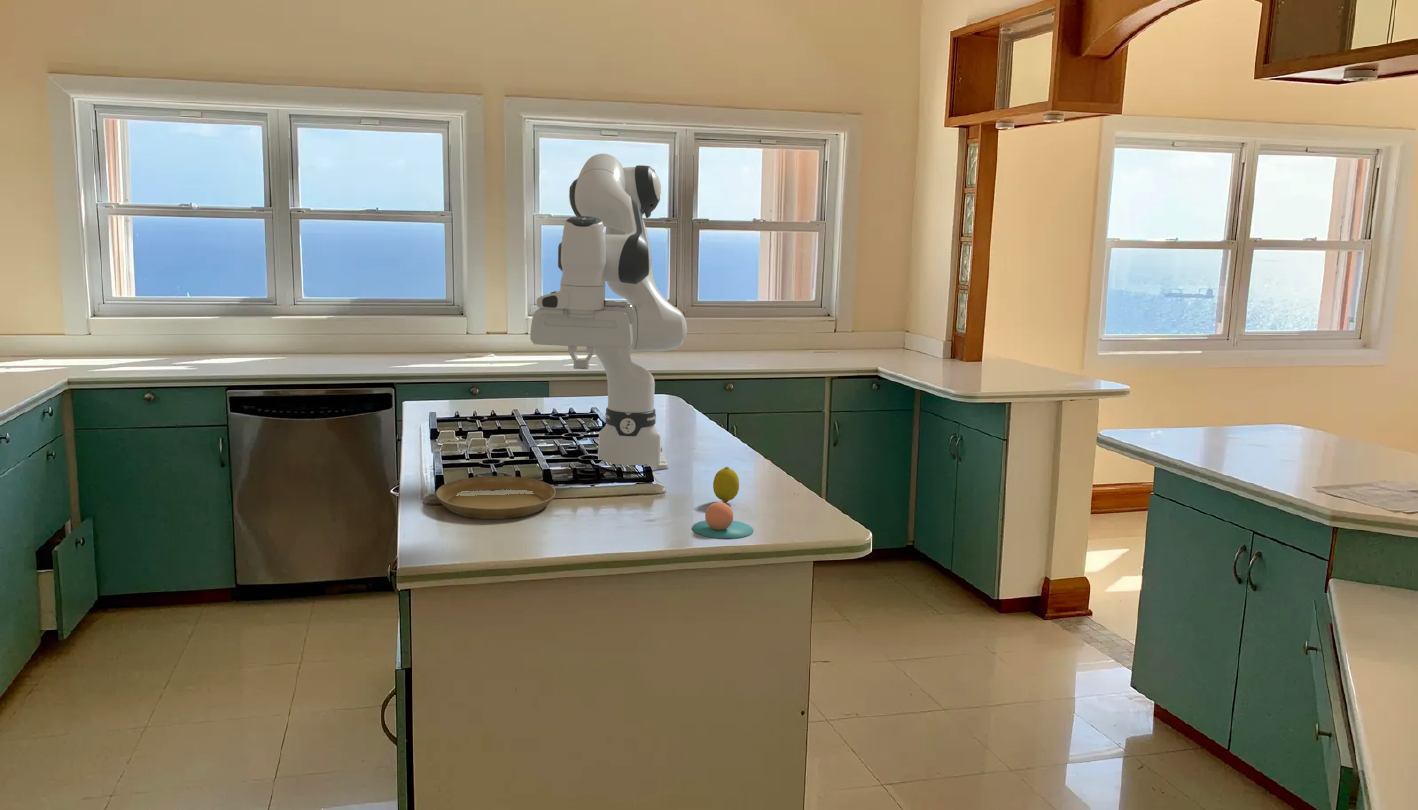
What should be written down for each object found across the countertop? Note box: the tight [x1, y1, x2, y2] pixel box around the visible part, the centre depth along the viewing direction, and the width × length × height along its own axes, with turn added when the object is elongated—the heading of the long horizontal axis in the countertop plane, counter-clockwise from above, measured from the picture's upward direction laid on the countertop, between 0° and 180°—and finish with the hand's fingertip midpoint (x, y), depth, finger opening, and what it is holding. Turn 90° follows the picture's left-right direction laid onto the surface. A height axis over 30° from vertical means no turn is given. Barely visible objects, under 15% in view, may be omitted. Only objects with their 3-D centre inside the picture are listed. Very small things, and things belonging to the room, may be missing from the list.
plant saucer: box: [435, 475, 557, 520], centre depth 211 cm, size 24×24×3 cm
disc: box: [692, 519, 754, 539], centre depth 201 cm, size 12×12×1 cm
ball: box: [704, 501, 734, 530], centre depth 200 cm, size 6×6×6 cm
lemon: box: [712, 466, 740, 504], centre depth 219 cm, size 6×6×8 cm
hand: (581, 368), depth 206 cm, fingers closed
